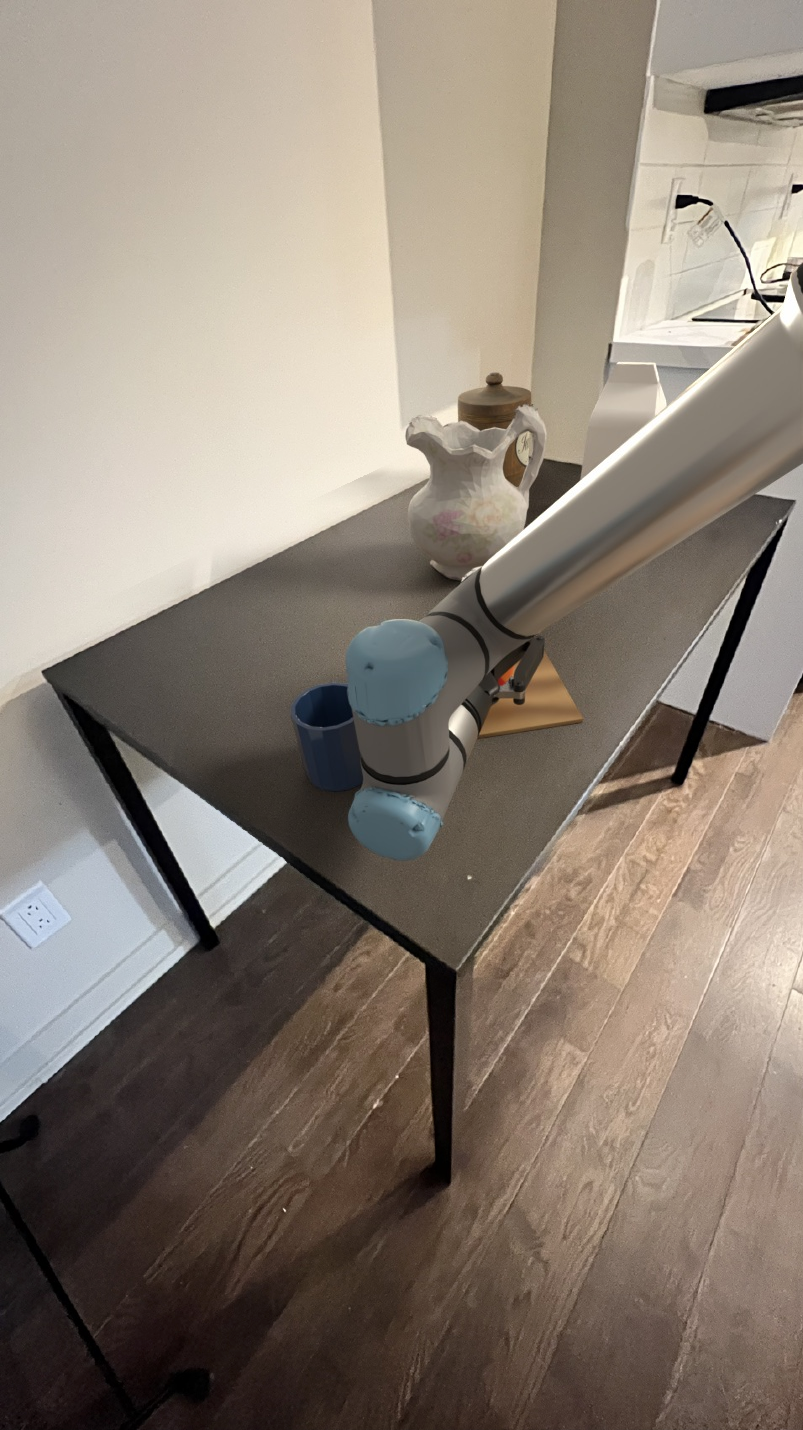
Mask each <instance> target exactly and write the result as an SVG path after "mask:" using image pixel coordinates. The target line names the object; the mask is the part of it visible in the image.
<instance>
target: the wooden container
mask: <svg viewBox="0 0 803 1430" xmlns="http://www.w3.org/2000/svg"><path fill="white" fill-rule="evenodd" d="M503 382H504V377H503V375H502V374H500V372H491V373H489V374H488V375H487V376H486V377H485V383H486V384H487V385H486V386H484V387H476V388H472V389H469V390H467V391H463V392H461V393H460V394H459V395H458V396H457V422H459V421H464V422H467V423H468V424H470V425H472V426H473V427H475V428H477V429H478V430H480V431H482V430H485V429H490V428H494V427H496V428H501V429H507V428H508V426H509V425H510V424H511V422H512V420H513V419H514V417H515V412H516V411H514V409H516V408H518V406H520V407H522V405H527V404H529V405H530V407H531V404H532V391H530V390H529V389H527V388H523V387H520V386H511V385H503ZM530 434H531V433H530V432H529V431H528V432H525V433H523V434H521V435H520V436H518V437H517V438H516V439H515V440H514V441H513V442H512V443H511V444H510V445H509V447H508V449H507V451H506V453H505V458H504V462H503V474H504V477H505V479H506V480H508V481H509V482H510V483H511V484H513V485H514V486H516V487H519V486H520V484H521V481H522V479H523V475H524V472H525V469H526V467H527V464H528V462H529V460H530V458H529V457H530Z"/></svg>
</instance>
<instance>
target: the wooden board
mask: <svg viewBox="0 0 803 1430" xmlns="http://www.w3.org/2000/svg"><path fill="white" fill-rule="evenodd" d="M520 661H521V660H520ZM520 661H518V662H517V663H516V664H515V665H514V670H513V676H514V671H515V669H516V667H517V666H518V664H519V662H520ZM583 722H584V718H583V716H582V714H581V712H580V710H579V709H578V706H577V705H576V704H575V702H574V700H573V699H572V697H571V695H570V693H569V691H568V690H567V688H566V686H565V684H564V682H563V681H562V679H561V678H560V675H559V673H558V672H557V670H556V668H555V666H554V665H553V663H552V661H551V660H550V658H549V657H548V655H547V653H546V651H545V650H544V657H543V659H542V661H541V663H540V664H539V666H538V668H537V670H536V672H535V673H534V675H533V677H532V679H531V681H530V682H529V684H528V686H527V688H526V690H525V703H524V704H522V705H516V704H515V703H514V702H513V698H500V699H499V700H498V702H497V703H495V704H494V705H492V706H491V708H490V710H489V713H488V715H487V717H486V720H485V722H484V724H483V727H482V729H481V731H480V734H479V735H478V737H477V740H478V739H484V738H490V737H496V736H504V735H511V734H516V733H522V732H529V731H535V730H536V731H537V730H541V729H543V730H544V729H549V728H555V727H560V726H568V725H573V724H581V723H583Z"/></svg>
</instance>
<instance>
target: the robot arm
mask: <svg viewBox="0 0 803 1430" xmlns="http://www.w3.org/2000/svg"><path fill="white" fill-rule="evenodd" d="M784 297H785V298H784V301H783V303H782V305H781V306H780V308H779V309H777V310H776V312H774V313H773V314H772V315H770V317H768V318H767V319H766V320H765V321H763V323H761V324H760V325H759V326H758V327H757V328H755V329H754V330H753V331H752V332H751V333H750V334H749V335H747V336H746V337H745V338H744V339H743V340H742V341H741V342H739V343H738V344H737V345H736V346H735V347H734V348H732V349H731V350H730V351H729V352H728V353H727V354H725V355H724V356H723V357H721V359H720V360H719V361H717V362H716V363H715V364H714V365H713V366H712V367H710V368H709V369H708V370H707V371H706V372H705V373H703V374H702V375H701V376H700V377H699V378H697V379H696V380H695V381H694V382H692V384H690V385H689V386H688V387H687V388H686V389H685V390H684V391H683V392H681V393H680V394H679V395H678V396H676V397H675V398H674V399H673V400H672V401H671V402H670V403H669V404H667V406H666V407H665V408H664V409H663V410H662V411H661V412H659V413H658V414H657V415H656V416H655V417H654V418H653V419H651V420H650V421H649V422H648V423H647V424H646V425H644V426H643V427H642V428H641V429H640V430H639V431H637V432H636V433H635V434H634V435H633V436H632V437H630V438H629V439H628V440H627V441H626V442H625V443H624V444H622V445H621V446H620V447H619V448H618V449H617V450H615V451H614V452H613V453H612V454H611V455H610V456H608V457H607V458H606V459H605V460H604V461H603V462H602V463H600V464H599V465H598V466H597V467H596V468H595V469H593V470H592V471H591V472H590V473H589V474H588V475H586V476H585V477H584V478H583V479H582V480H581V481H580V480H579V481H578V482H577V483H575V485H574V486H573V487H571V488H570V489H568V491H566V492H565V493H564V494H563V495H562V496H561V497H560V498H559V499H557V500H556V501H555V502H554V503H553V504H551V505H550V506H549V507H548V508H547V509H545V511H543V512H542V513H541V514H540V515H539V516H537V518H535V519H534V520H533V521H532V522H531V523H529V524H528V525H527V526H526V527H524V529H523V531H522V532H520V533H519V534H518V535H517V536H516V537H515V538H513V539H512V540H511V541H510V542H509V543H508V544H506V545H505V546H504V547H503V548H502V549H501V550H500V551H498V552H497V553H496V554H495V555H494V556H493V557H491V558H490V559H489V560H488V561H487V562H486V563H485V564H484V565H483V566H482V567H480V568H479V569H478V570H476V571H475V572H473V573H471V574H470V575H469V576H467V577H466V578H465V579H464V580H463V581H462V580H461V581H462V582H461V581H460V582H459V583H458V584H457V585H456V586H455V587H454V588H453V589H452V591H451V592H449V593H448V594H447V595H446V596H445V597H444V598H443V599H441V601H440V602H439V603H437V604H436V605H435V606H434V607H433V608H432V609H431V610H430V611H429V612H428V613H427V614H426V615H424V616H423V617H421V618H420V619H419V620H413V619H407V618H401V619H400V618H396V619H395V618H393V619H388V620H383V621H381V622H380V623H379V624H378V625H375V626H367V627H365V628H363V629H362V630H360V631H359V632H358V633H357V634H356V635H354V636H353V638H352V639H351V641H350V642H349V643H348V646H347V648H346V652H345V668H346V681H347V683H346V684H348V689H347V695H348V699H349V703H350V705H351V707H352V713H353V718H354V723H355V729H356V734H357V739H358V745H359V750H360V763H361V768H362V773H363V783H362V784H361V787H360V788H359V789H358V790H356V792H355V794H354V796H353V797H354V798H353V801H352V804H351V806H350V808H349V810H348V815H347V822H348V826H349V829H350V831H351V833H352V835H353V837H354V838H355V839H356V840H358V842H359V843H360V844H361V845H362V846H363V847H365V848H366V849H367V850H368V851H370V852H372V853H374V854H376V855H377V856H380V857H382V858H388V859H391V860H394V861H398V862H399V861H401V862H402V861H403V862H405V861H413V860H415V859H418V858H420V857H422V856H424V854H425V853H427V851H428V850H429V849H430V847H431V845H432V843H433V841H434V839H435V837H436V835H437V834H438V832H439V830H441V828H442V827H443V825H444V821H443V820H444V818H445V816H446V813H447V811H448V809H449V807H450V803H451V801H452V798H453V796H454V794H455V791H456V789H457V787H458V785H459V783H460V780H461V778H462V775H463V774H464V773H463V772H464V771H465V767H466V765H467V762H468V760H469V758H470V756H471V754H472V751H473V749H474V747H475V745H476V742H477V740H478V739H477V737H478V735H479V734H480V731H481V729H482V727H483V724H484V722H485V720H486V717H487V715H488V713H489V710H490V708H491V706H492V705H494V704H495V703H497V702H498V700H499V699H500V698H513V702H514V703H515V704H516V705H522V704H524V703H525V690H526V688H527V686H528V684H529V682H530V681H531V679H532V677H533V675H534V673H535V672H536V670H537V668H538V666H539V664H540V663H541V661H542V659H543V657H544V651H545V643H546V642H545V641H546V638H545V637H544V636H542V635H539V634H540V633H541V632H543V631H544V630H546V629H548V628H549V627H551V626H552V625H554V624H555V623H556V622H558V621H560V620H561V619H563V618H565V617H566V616H568V615H569V614H571V613H572V612H574V611H575V610H577V609H579V608H580V607H581V606H583V605H584V604H585V605H586V603H588V602H589V601H591V600H593V599H594V598H596V597H597V596H599V595H600V594H602V593H603V592H605V591H606V590H608V589H610V588H611V587H613V586H614V585H616V584H618V583H619V582H620V581H622V580H624V579H625V578H627V577H628V576H630V575H631V574H633V573H635V572H636V571H638V570H639V569H641V568H642V567H644V566H646V565H647V564H649V563H650V562H652V561H654V560H655V559H656V558H658V557H660V556H661V555H663V554H664V553H666V552H667V551H670V550H671V549H672V548H674V547H675V546H677V545H678V544H680V543H681V542H683V541H684V540H686V539H687V538H690V536H692V535H693V534H695V533H697V532H698V531H700V530H702V529H703V528H705V527H706V526H708V525H709V524H711V523H713V522H714V521H715V520H717V519H719V518H721V517H722V516H723V515H725V514H726V513H728V512H730V511H731V510H733V509H734V508H736V507H738V506H739V505H741V504H742V503H744V502H745V501H747V500H748V499H750V498H751V497H753V496H755V495H756V494H758V493H759V492H761V491H762V490H764V489H765V488H767V487H768V486H770V485H772V484H773V483H775V482H777V481H778V480H779V479H781V478H783V477H784V476H786V475H788V474H789V473H791V472H792V471H794V470H795V469H796V468H798V467H799V466H801V465H803V262H801V263H800V264H798V266H797V267H796V268H795V269H794V270H792V272H791V273H790V277H789V281H788V285H787V289H786V293H785V296H784ZM520 660H521V661H520ZM518 661H520V662H519V664H518V666H517V667H516V669H515V671H514V676H510V677H509V680H508V681H506V683H505V684H504V685H502V686H499V684H498V680H499V678H500V677H502V676H503V675H504V674H505V673H506V672H507V671H508V670H509V669H511V668H512V667H513V666H514V665H515V664H516V663H517V662H518Z"/></svg>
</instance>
